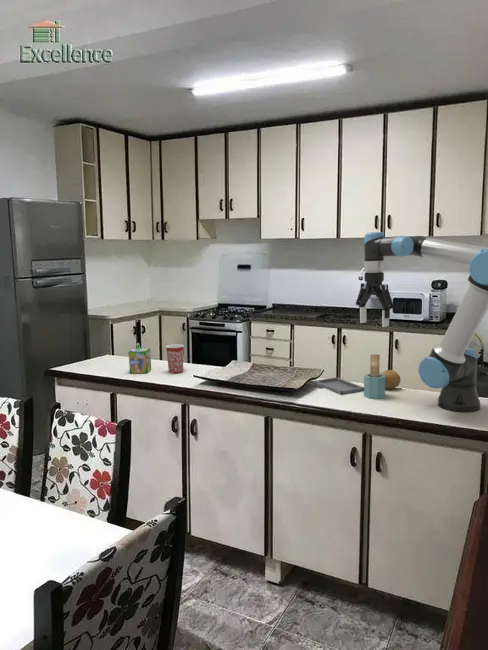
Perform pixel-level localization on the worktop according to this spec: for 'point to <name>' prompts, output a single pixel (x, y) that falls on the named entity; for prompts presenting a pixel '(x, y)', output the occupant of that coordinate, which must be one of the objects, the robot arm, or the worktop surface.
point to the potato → (391, 379)
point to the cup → (374, 386)
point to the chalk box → (139, 360)
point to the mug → (175, 358)
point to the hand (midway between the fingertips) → (374, 324)
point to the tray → (338, 386)
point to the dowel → (374, 365)
